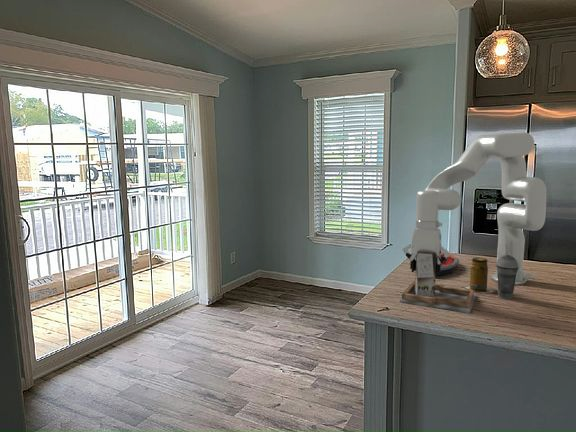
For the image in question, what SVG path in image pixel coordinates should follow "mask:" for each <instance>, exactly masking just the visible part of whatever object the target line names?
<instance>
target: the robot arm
mask: <svg viewBox="0 0 576 432" xmlns="http://www.w3.org/2000/svg"><path fill="white" fill-rule="evenodd" d="M534 148H535V139H534V136H533V135H532V134H531V133H529V132H524V131H523V132H501V133H491V134H488V133H487V134H480V135H477V136H475V137H474V138H473V139H472V141H471V142H470V143H469V144H468V146H467V148H466V149H465V150H464V151H463V152H462V154H461V156H459V158H458V159H457V161H456V162H455V163H454V164H452V165H450V166H448V167H447V168H446V169H443V170H442V171H441V172H440V173H438V174H437V175H436V176H435V177H433V179H432V180H431V181H430V182H429V183H428V185H427V186H426V188H425V189H424V190H418V191H417V193H416V204H415V205H416V206H415V207H416V208H415V209H416V210H415V227H413V230H412V234H411V241H410V244H409V245H407V246H405V247H403V248H402V252H403V253H404V254H405V256H406V258H407V259H408V260H409V261H410V262H409V266H410V267H409V269H410V270H411V273H415V269H416V260H415V258H416V256H417V252H431V253H436V273H435V275H438V273H439V272H440V271H441V263H442V262H443V261H444V260H445V259H446V258H447V257H448V256H449V255H450V254H451V252H450V251H448V250H447V249H446V248H445V247H443V246H442V234H441V229H440V227H443V222H440V221H439V211H441V210H442V211H453V210H456V209H457V208H459V206H460V205H461V203H462V196H461V194H460V193H459V192H458V191H457V190H454V189H450V187H452V186H454V185H456V184H459V183H462V182H466V181H468V180H471V179H473V178H475V177H477V175H478V174H479V173H480V171H481V169H482V168H483V167H484V165H485V164H486V163H487V162H488V160H489V159H491V158H495V159H498V160H499V163H500V166H501V195H502V197H503V198H504V199H506V200H510V201H514V202H507V203H503V204H502V205H501V206H499V208H498V209H497V212H496V219H497V228H498V236H497V237H498V238H497V252H496V254H497V255H496V262H497V261H498V259H499V258H500V257H502V256H504V255H505V243H507V255H510V256H512V257H514V258H515V259H516V260H517V262H518V267H519V268H518V271H517V274H516V280H515V286H516V285H517V286H518V285H524V284H526V283H527V280H528V279H529V280H536V274H532V273H530V272H528V273H527V272H525V271H524V256H525V255H524V253H525V243H526V239H525V234H524V231H523V230H525V231H526V230H528V231H534V232H535V231H539V230H541V229H542V228H543V227H544V225H545V223H546V216H547V214H546V213H547V186H546V184H545V182H544V181H543V180H542V179H541V178H538V177H533V176H527V162H526V160H525V157H524V156H527V155H529V154H530V153H531V152H532V151H534V150H533V149H534ZM515 201H516V203H515ZM517 202H525V203H524V204H522V203H517ZM409 250H410V252H409ZM440 254H445V255H444V256H443V257H442V258H440V256H439V255H440ZM496 267H497V266H496V265H495V268H496ZM495 270H496V271H495V273H493V274H492V275H491V280H493V281H495V282H497V283H498V279H497V268H496V269H495ZM438 276H439V275H438Z"/></svg>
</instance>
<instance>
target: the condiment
mask: <svg viewBox="0 0 576 432" xmlns="http://www.w3.org/2000/svg"><path fill="white" fill-rule="evenodd" d="M471 260H472V262H471V265H470V273H469V275H470V276H469V286H466V287H465V286H464V288H463V289H466V290H473V291H474V292H476V293H479V294H482V295H483V294H489V293H495V290H494V289H491V288H488V274H489V273H488V272H489V267H488V259H487V258H485V257H473V258H472V259H471Z"/></svg>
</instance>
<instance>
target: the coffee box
mask: <svg viewBox="0 0 576 432" xmlns="http://www.w3.org/2000/svg"><path fill="white" fill-rule="evenodd" d="M415 260H416V269H415V271H414V281H415V292H416V295H420V296H426V297H433V296H435V284H436V276H435V273H436V253H431V252H417V256H416V257H415Z"/></svg>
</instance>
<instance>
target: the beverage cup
mask: <svg viewBox="0 0 576 432" xmlns="http://www.w3.org/2000/svg"><path fill="white" fill-rule="evenodd" d="M496 266H497V267H496ZM495 268H497V279H498V282H497V295H498V296H497V297H498V298H499V299H503V300H512V299H513V295H514V291H515V286H516V285H515V280H516V274H517V271H518V268H519V267H518V262H517V260H516V259H515V258H514V257H512V256H510V255H507V243H505V255H504V256H502V257H500V258H499V259H498V261H497V260H496V265H495Z"/></svg>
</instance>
